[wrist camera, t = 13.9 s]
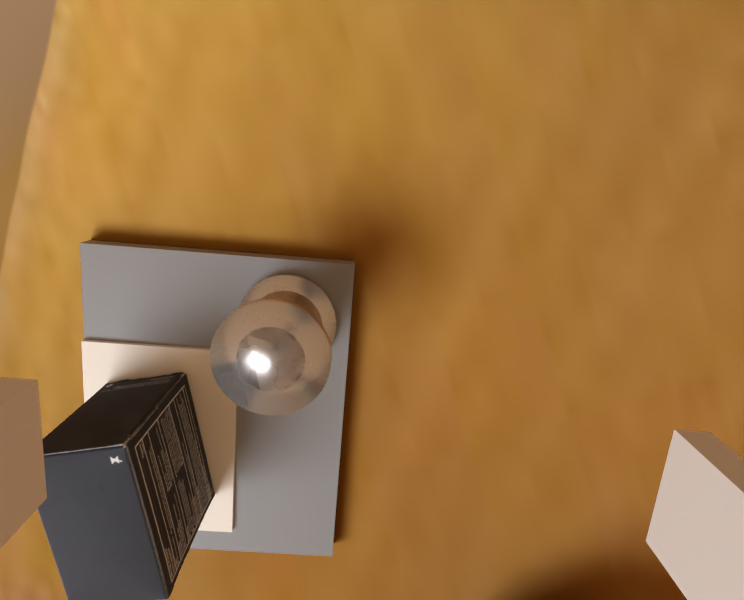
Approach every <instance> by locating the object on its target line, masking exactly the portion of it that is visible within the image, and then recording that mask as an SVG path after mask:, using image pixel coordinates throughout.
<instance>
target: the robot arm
mask: <svg viewBox="0 0 744 600" xmlns="http://www.w3.org/2000/svg"><path fill="white" fill-rule="evenodd" d="M46 499H47V492H46V479H45V466H44V453H43V440H42V427H41V414H40V402H39V389H38V380H32V379H19V378H6V377H0V548H1V547H2V546H3V545H4V544H5V543H6V542H7V541H8V540H9V539H10V538H11V536H12V535H13V534H14V533H15V532H16V531H17V530H18V529H19V528H20V527H21V526H22V525H23V524H24V522H25V521H26V520H27V519H28V518H29V517H30V516H31V515H32V514H33V513H34V512H35V511H36V509H37V508H38V507H39V506H40V505H41V504H42V503H43V502H44V501H45V500H46ZM646 542H647V544H648V545H649V546H650V548H651V549H652V551H653V552H654V554H655V555H656V556H657V558H658V559H659V561H660V562H661V563H662V565H663V566H664V568H665V569H666V570H667V572H668V573H669V575H670V576H671V578H672V579H673V580H674V582H675V583H676V585H677V586H678V587H679V589H680V590H681V592H682V593H683V595H684V596H685V597H686V599H687V600H744V460H743V459H742V458H741V457H740V456H739V455H737V454H736V453H735V452H734V451H733V450H731V449H730V448H729V447H728V446H726V445H725V444H724V443H723V442H722V441H720V440H719V439H718V438H717V437H716V436H714V435H713V434H712V433H711V432H703V431H690V430H677V429H674V433H673V437H672V440H671V444H670V448H669V452H668V456H667V460H666V464H665V468H664V472H663V476H662V480H661V483H660V487H659V491H658V495H657V499H656V503H655V507H654V511H653V515H652V519H651V523H650V527H649V530H648V534H647V538H646Z"/></svg>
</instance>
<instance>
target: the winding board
mask: <svg viewBox="0 0 744 600" xmlns="http://www.w3.org/2000/svg"><path fill="white" fill-rule="evenodd" d="M80 253H81V276H82V299H83V322H84V340H83V341H82V363H83V385H84V403H85V402H86V401H87V400H88V399H90V398H91V397H92V396H93V395H94V394H95V393H96V392H97V391H99V390H100V389H101V388H102V387H103V386H104V385H105V384H106V383H112V382H116V381H121V380H126V379H130V380H132V379H139V378H149V377H155V376H162V375H164V374H165V375H170V374H172V373H176V372H178V373H179V372H183V373H185V374H187V379H188V383H189V387H190V391H191V395H192V399H193V403H194V407H195V412H196V416H197V420H198V424H199V429H200V433H201V437H202V441H203V445H204V450H205V454H206V457H207V462H208V467H209V471H210V475H211V479H212V484H213V489H214V492H215V496H214V498H213V499H212V501H211V504H210V506H209V508H208V510H207V512H206V513H205V516H204V518H203V520H202V522H201V525H200V527H199V529H198V531H197V533H196V536H195V538H194V540H193V542H192V544H191V547H190V548H194V549H211V550H229V551H247V552H265V553H282V554H300V555H318V556H332V553H333V540H334V527H335V515H336V502H337V489H338V476H339V464H340V451H341V438H342V425H343V413H344V400H345V387H346V374H347V362H348V349H349V336H350V323H351V311H352V298H353V285H354V272H355V261H349V260H336V259H324V258H311V257H299V256H286V255H273V254H261V253H248V252H236V251H223V250H211V249H198V248H185V247H173V246H160V245H148V244H135V243H123V242H110V241H97V240H88V241H85V242H82V243H80ZM276 274H297V275H300V276H304V277H306V278H308V279H310V280H312V281H314V282H315V283H317V284H318V285H319V286H320V287H322V288H323V289H324V290H325V292H326V293H327V294H328V296H329V297H330V299H331V301H332V303H333V305H334V308H335V312H336V318H337V325H336V332H335V337H334V340H333V342H332V345H331V350H332V361H331V369H330V374H329V377H328V380H327V382H326V384H325V386H324V388H323V389H322V391H321V392H320V394H319V395H318V396H317V397H316V398H315V399H314V400H313V401H312V402H311V403H309V404H308V405H306V406H305V407H303V408H301V409H299V410H297V411H294V412H292V413H288V414H284V415H262V414H257V413H253V412H251V411H248V410H246V409H244V408H242V407H240V406H238V405H237V404H235V403H234V402H232V401H231V400H230V399H229V398H228V397H227V396H226V395H225V394H224V393H223V392H222V390H221V389H220V387H219V386H218V384H217V382H216V380H215V378H214V376H213V373H212V370H211V365H210V348H211V343H212V340H213V337H214V335H215V333H216V331H217V329H218V327H219V326H220V325H221V323H222V322H223V321H224V320H225V318H226V317H227V316H228V315H229V314H230V313H231V312H232V311H234V310H235V309H236V308H238V307H239V306H240V304H241V302H242V300H243V298H244V296H245V295H246V294H247V293H248V291H249V290H250V289H251V288H252V287H253V286H254V285H255V284H257V283H258V282H259V281H261V280H263V279H265V278H267V277H269V276H272V275H276Z"/></svg>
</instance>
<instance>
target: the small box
mask: <svg viewBox="0 0 744 600" xmlns="http://www.w3.org/2000/svg"><path fill="white" fill-rule="evenodd" d="M43 453H44V466H45V479H46V492H47V499H46V500H45V501H44V502H43V503H42V504H41V505H40V506H39V507H38V511H39V514H40V517H41V520H42V523H43V526H44V529H45V532H46V535H47V538H48V541H49V544H50V547H51V550H52V553H53V556H54V559H55V562H56V565H57V568H58V571H59V574H60V577H61V580H62V583H63V586H64V589H65V592H66V595H67V598H68V600H160V599H168V598H169V597H170V595H171V592H172V590H173V587H174V583H175V581H176V579H177V576H178V573H179V571H180V569H181V566H182V564H183V562H184V559H185V557H186V555H187V553H188V551H189V549H190V547H191V544H192V542H193V540H194V538H195V536H196V533H197V531H198V529H199V527H200V525H201V522H202V520H203V518H204V516H205V513H206V512H207V510H208V508H209V506H210V504H211V501H212V499H213V498H214V496H215V492H214V489H213V484H212V479H211V475H210V471H209V467H208V462H207V457H206V454H205V450H204V445H203V441H202V437H201V433H200V429H199V424H198V420H197V416H196V412H195V407H194V403H193V399H192V395H191V391H190V387H189V383H188V379H187V374H185V373H183V372H179V373H178V372H176V373H172V374H170V375H165V374H164V375H162V376H155V377H149V378H139V379H132V380H130V379H126V380H121V381H116V382H112V383H106V384H105V385H104V386H103V387H102V388H101V389H100V390H99V391H97V392H96V393H95V394H94V395H93V396H92V397H91V398H90V399H88V400H87V401H86V402H85V403H84V404H83V405H82V406H81V407H79V408H78V409H77V410H76V411H75V412H74V413H73V414H71V415H70V416H69V417H68V418H67V419H66V420H65V421H63V422H62V423H61V424H60V425H59V426H58V427H56V428H55V429H54V430H53V431H52V432H51V433H49V434H48V435H47V436H46V437H45V438H44V439H43Z"/></svg>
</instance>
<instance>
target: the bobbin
mask: <svg viewBox="0 0 744 600" xmlns="http://www.w3.org/2000/svg"><path fill="white" fill-rule="evenodd" d="M336 325H337V318H336V312H335V308H334V305H333V303H332V301H331V299H330V297H329V296H328V294H327V293H326V292H325V290H324V289H323V288H322V287H320V286H319V285H318V284H317V283H315V282H314V281H312V280H310V279H308V278H306V277H304V276H300V275H297V274H276V275H272V276H269V277H267V278H265V279H263V280H261V281H259V282H258V283H257V284H255V285H254V286H253V287H252V288H251V289H250V290H249V291H248V293H247V294H246V295H245V296H244V298H243V300H242V302H241V304H240V306H239V307H238V308H236V309H235V310H234V311H232V312H231V313H230V314H229V315H228V316H227V317H226V318H225V320H224V321H223V322H222V323H221V325H220V326H219V327H218V329H217V331H216V333H215V335H214V337H213V340H212V343H211V348H210V365H211V370H212V373H213V376H214V378H215V380H216V382H217V384H218V386H219V387H220V389H221V390H222V392H223V393H224V394H225V395H226V396H227V397H228V398H229V399H230V400H231V401H232V402H234V403H235V404H237V405H238V406H240V407H242V408H244V409H246V410H248V411H251V412H253V413H257V414H262V415H284V414H288V413H292V412H294V411H297V410H299V409H301V408H303V407H305V406H306V405H308V404H309V403H311V402H312V401H313V400H314V399H315V398H316V397H317V396H318V395H319V394H320V392H321V391H322V389H323V388H324V386H325V384H326V382H327V380H328V377H329V374H330V369H331V361H332V350H331V345H332V342H333V340H334V337H335V332H336Z"/></svg>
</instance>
